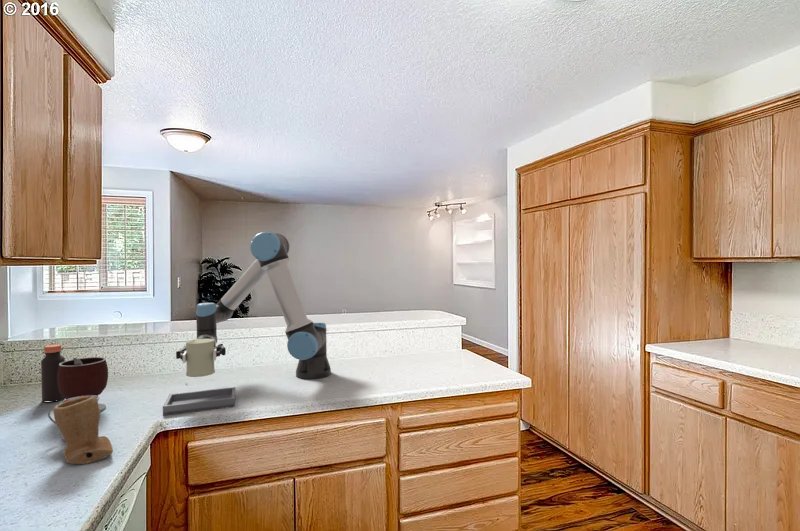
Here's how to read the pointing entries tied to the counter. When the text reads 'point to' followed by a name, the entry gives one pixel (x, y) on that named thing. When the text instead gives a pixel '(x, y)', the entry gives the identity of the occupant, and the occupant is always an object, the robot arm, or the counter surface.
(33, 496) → the counter surface
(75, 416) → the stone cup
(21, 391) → the counter surface
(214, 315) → the robot arm
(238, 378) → the counter surface
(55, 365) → the bottle
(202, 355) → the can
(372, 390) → the counter surface
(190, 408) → the tray
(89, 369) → the mate gourd
